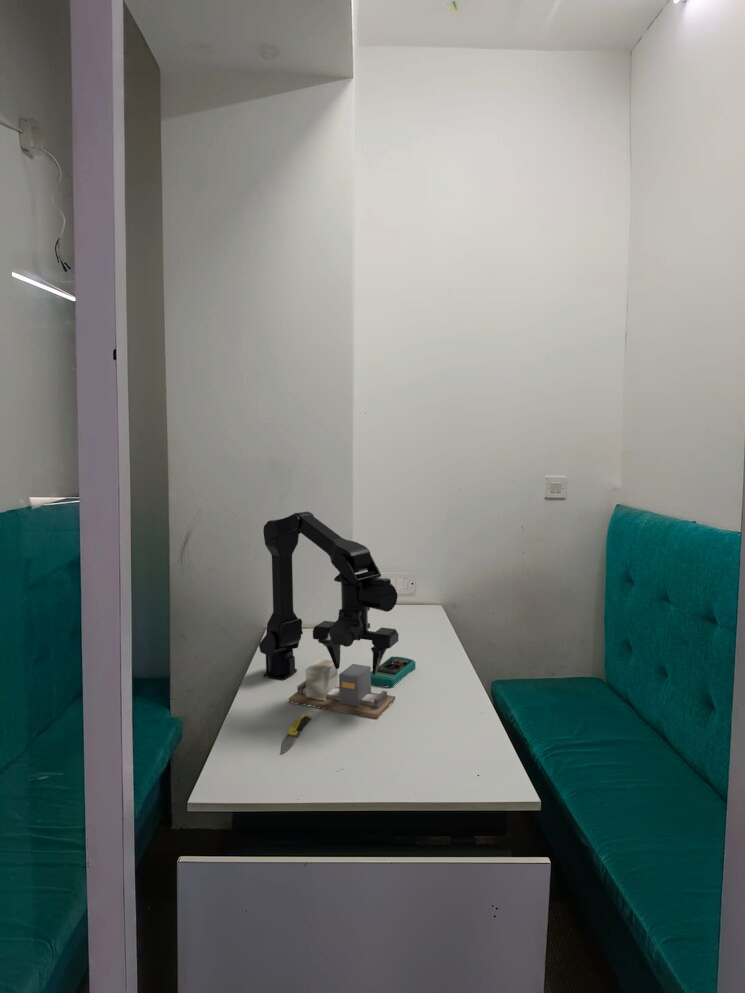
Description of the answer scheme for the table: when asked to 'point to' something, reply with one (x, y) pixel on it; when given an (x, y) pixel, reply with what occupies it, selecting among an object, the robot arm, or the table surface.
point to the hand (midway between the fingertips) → (355, 671)
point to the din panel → (335, 692)
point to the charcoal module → (354, 684)
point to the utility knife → (294, 732)
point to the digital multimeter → (392, 671)
